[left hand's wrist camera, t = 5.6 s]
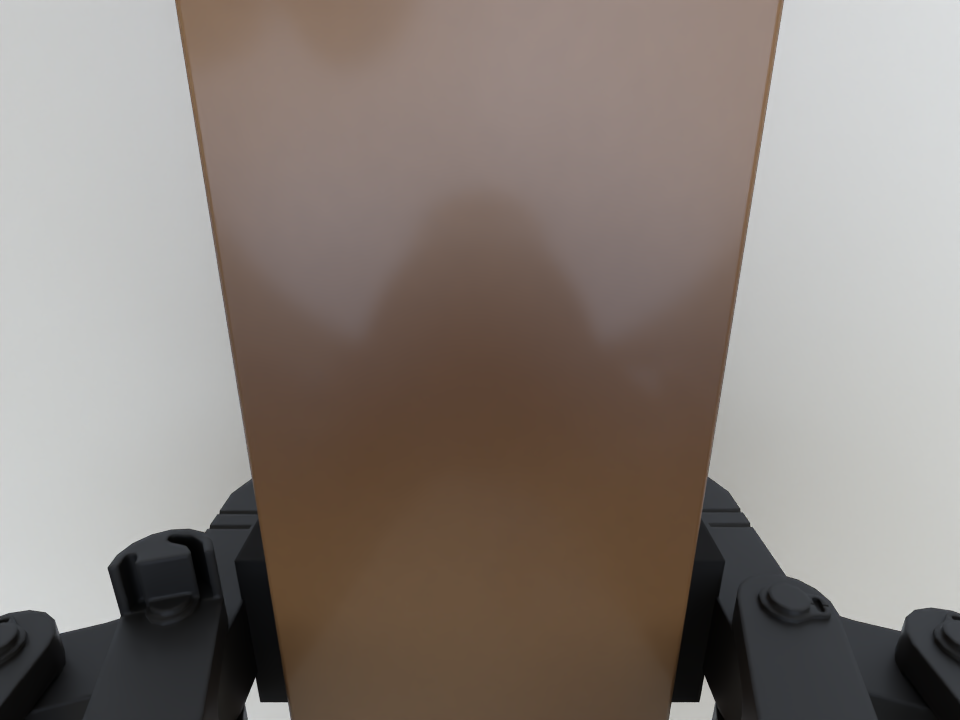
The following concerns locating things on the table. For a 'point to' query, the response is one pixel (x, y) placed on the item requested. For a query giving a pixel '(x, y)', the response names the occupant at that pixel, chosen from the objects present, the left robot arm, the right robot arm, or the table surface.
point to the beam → (479, 331)
